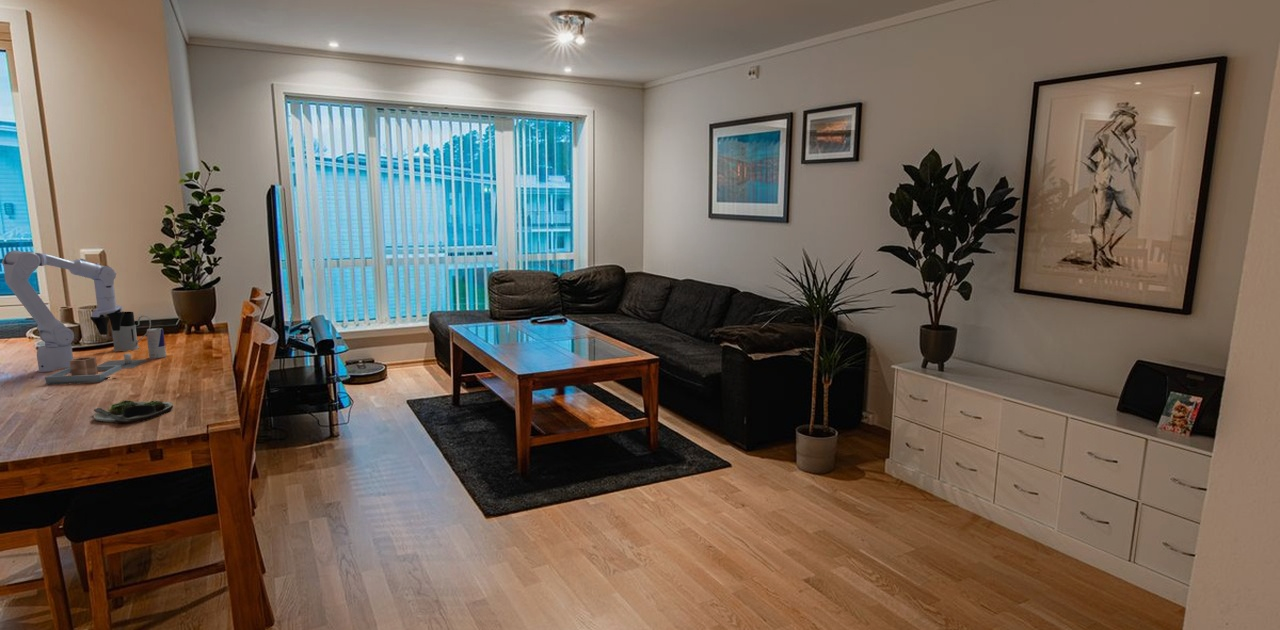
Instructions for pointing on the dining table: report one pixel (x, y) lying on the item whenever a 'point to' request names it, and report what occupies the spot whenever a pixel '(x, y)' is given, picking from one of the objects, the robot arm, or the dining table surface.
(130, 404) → the salad plate
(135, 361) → the stake board
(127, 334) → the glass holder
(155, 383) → the dining table surface
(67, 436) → the dining table surface
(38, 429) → the dining table surface
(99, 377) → the grey square frame
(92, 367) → the tan block
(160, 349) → the energy drink
